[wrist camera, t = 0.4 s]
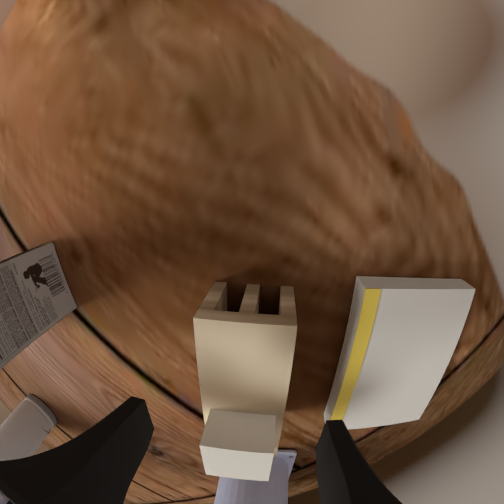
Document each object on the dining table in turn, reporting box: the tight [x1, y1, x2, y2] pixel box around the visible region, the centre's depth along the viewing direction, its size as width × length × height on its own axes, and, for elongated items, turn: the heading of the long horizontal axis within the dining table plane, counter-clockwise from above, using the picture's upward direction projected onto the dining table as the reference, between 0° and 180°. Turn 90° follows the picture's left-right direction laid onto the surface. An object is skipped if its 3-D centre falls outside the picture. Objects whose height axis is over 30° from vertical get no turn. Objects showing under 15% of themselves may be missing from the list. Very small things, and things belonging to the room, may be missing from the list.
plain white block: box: [200, 409, 276, 481], centre depth 14 cm, size 4×4×3 cm
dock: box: [324, 276, 475, 429], centre depth 17 cm, size 13×9×2 cm
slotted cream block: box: [193, 282, 297, 457], centre depth 17 cm, size 12×5×5 cm, turn 178°
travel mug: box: [0, 394, 57, 461], centre depth 17 cm, size 6×7×20 cm
